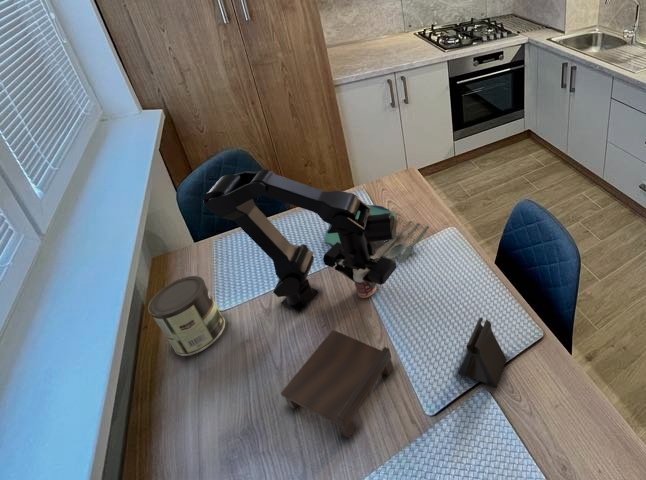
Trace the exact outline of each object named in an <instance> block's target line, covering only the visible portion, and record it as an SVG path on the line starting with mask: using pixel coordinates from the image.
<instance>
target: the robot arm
mask: <svg viewBox="0 0 646 480" xmlns="http://www.w3.org/2000/svg"><path fill="white" fill-rule="evenodd" d="M259 197H266V198H270V199H272V200H275V201H279V202H282V203H285V204H287V205H291V206H294V207H297V208H299V209H303V210H306V211H309V212H312V213H314V214H316V215H318V217H319V218H320V219H321V220H322V221H323V222H325V223H326V224H329V226H328V228H327V230H328V231H327V230H326V231H327V233H338V236H339V239H340V242H337V243H336V244H335V245H334V246H333V247H331V246H330V248H329V249H327V251H326V252H325V253H324V254H323V257H322V261H323V264H324V265H325V266H327V267H329V268H334V270H335V271H337V272H338V273H340V274H342V275H343V276H345V277H347V278H348V279H349V280H350V281H351V282H353V283H355V282H354V279H353V275H354V273H353V269H356V270H359V269H362V270H365V269H366V268H367V270H368V272H367V274H366V275H365V276H364V278H363V281H364V282H365V283H366V284H367V285H368V286H369V287H370V288H371V289H372V290H373V289H374V288H375V286H376V287H377V285H380V286H381V285H382V286H383V285H384V284H385V283H386V282H387V281H388V280H389V278H391V276H392V274H393V273H394V272H395V271H396V269H397V268H398V266H397V262H396V259H393V258H392V259H390V258H388V256H380V257H375V258H372V257H374V256H375V254H376V253H377V251H376V250H377V249H379V248H380V247H382V246H384V245H385V241H392V240H394V239H395V237H396V235H397V222H396V221H397V218H396V219H395V218H394V216H393V215H391V213H384V214H379V215H370V211H371V208H370V207H369V206H368V205H369V204H367V203H365V202H364V201H363V200H362V199H359V197H358V195H357V194H354V193H352V192H348V191H344V190H329V191H327V190H322V189H319V188H316V187H313V186H312V185H311V186H310V185H307V184H304V183H301V182H299V181H296V180H292V179H291V178H287V177H284V176H281V175H278V174H275V172H274V171H272V170H270V169H261V170H258V171H251V170H245V171H242V172H238V173H234V174H229V173H228V174H225V175H224V174H223V176H221V177H219V179H218V180H217V181H216V183H214V185H212V187H211V188H210V189H209V190H208V192H206V194H205V195H204V196H203V201H202V203H203V205H204V207H205V208H206V209H207V210H208V211H210V212H211V213H212V214H214V215H215V216H216V217H218V218H219V219H224V220H230V221H233V222H234V223H235V224H236V225H237V226H238V227H239V228H240V229H241V230H242V231H243V232H244V233H245V234H246V235H247V236H248V237H249V238H250V239H251V240H252V241H253V242H254V243H255V244H256V245H257V246H258V247H259V248H260V249H261V250H262V252H264V253H265V254H266V255H267V256H268V257H269V258H270V259H271V261H272V262H273V267H274V272H275V275H276V277H277V278H278V280H277V283H276V285H275V287H274V289H273V292H272V293H273V294H274V295H275V296H276V297H277V298H281V297H285V298H284V299H283V300H282V301H281V302H280V304H281V306H283V307H285V308H288V309H290V310H292V311H295V312H297V313H301V312H302V311H303V309H305V308H306V306H308V305H309V304H310V302H311V301H312V300H313V299H314V298H315V297H316V296H317V294H318V293H319V289H317V288H314V287H312V286H311V284H310V281H309V279H308V276H309V274H310V271H311V269H312V266H313V264H314V260H315V257H314V251H311V249H310V248H309V247H308V246H307V244H305V243H302V244H300V245H296V244H293V243H291V242H290V241H289V240H288V239H287V238H286V237H285V236H284V235H283V234H282V232H281V231H279V229H278V228H277V227H276V226H275V224H273V223H272V221H270V219H268V218H267V216H266V215H265V214H264V213H263V212H262V211H261V210H260V209H259V207H258V206H257V205H256V203H255V200H254V199H256V198H259ZM358 211H361V212H360V215H359V218H358V219H357V218H356V215H357V212H358Z"/></svg>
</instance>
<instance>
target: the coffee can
mask: <svg viewBox="0 0 646 480" xmlns="http://www.w3.org/2000/svg"><path fill="white" fill-rule="evenodd" d="M147 311H148V314H149V315H150V316H151V317H152V318H153V320H154V321H155V323H156V324H157V326H158V327H159V329H160V330H161V332H162V333H163V335H164V336H165V338H166V339H167V341H168V342H169V344H170V346H171V347H172V348H173V350H174V352H175V354H177V355H178V356H182V357H189V356H193V355H196V354H198V353H200V352H203V351H204V350H206V349H208V348H209V347H210V346H212V345H213V344H214V343H215V342H216V341H217V340H218V339H219V338H220V337H221V335H222V333H223V332H224V331H225V327H226V320H225V318H224V316H223V315H222V313H221V312H220V310H219V308H218V305H217V304H216V302H215V300H214V298H213V296H212V293H210V291H209V289H208V287H207V285H206V282H205V279H203V277H201V276H198V275H190V276H189V275H188V276H185V277H182V278H179V279H175V280H173V281H172V282H170V283H169V284H167V285H166V286H164V287H163V288H161V289H160V290H159V291H158V292H157V293H156V294H154V295H153V297H152V298H151V300H150V301H149V303H148V305H147Z"/></svg>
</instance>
